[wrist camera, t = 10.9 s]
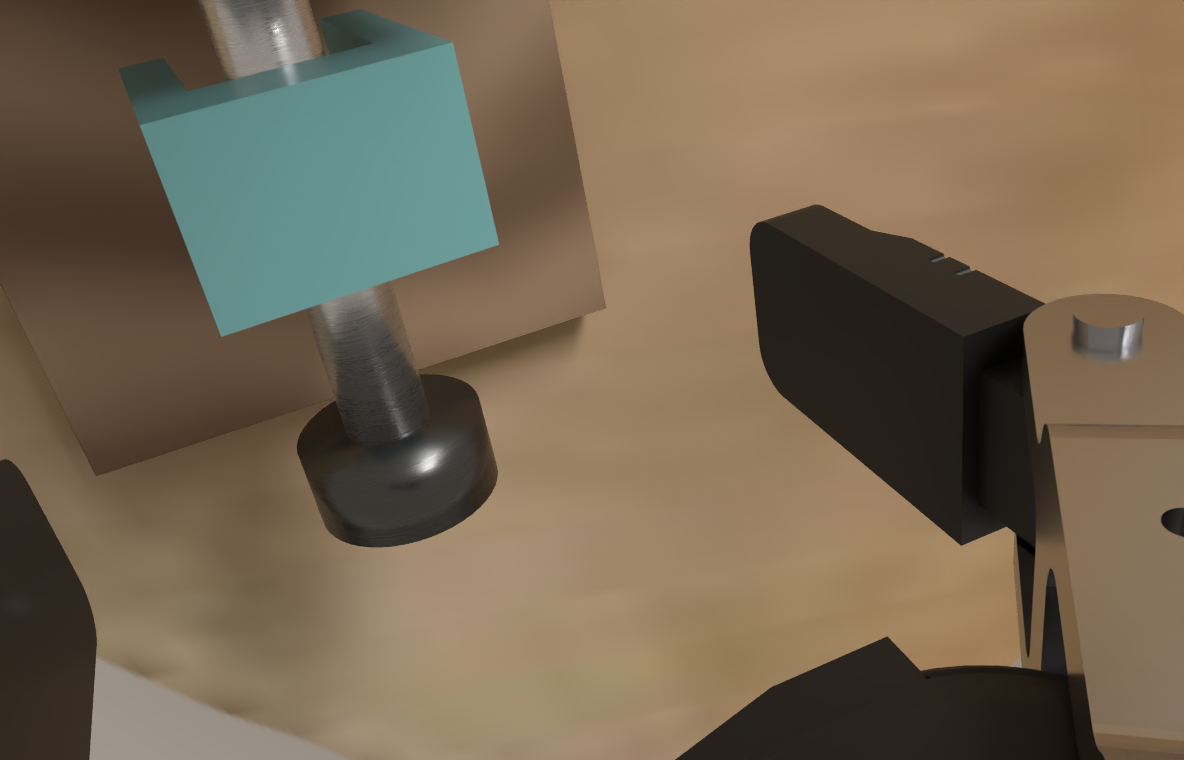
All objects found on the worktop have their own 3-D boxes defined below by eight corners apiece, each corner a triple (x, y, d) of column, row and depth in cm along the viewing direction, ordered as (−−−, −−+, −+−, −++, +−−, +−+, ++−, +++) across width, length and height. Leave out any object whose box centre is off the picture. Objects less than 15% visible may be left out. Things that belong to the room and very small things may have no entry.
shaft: (58, -201, 20) (36, -219, 16) (290, -243, 21) (320, -269, 17) (311, 476, 27) (336, 571, 23) (471, 421, 28) (520, 503, 24)
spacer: (118, 69, 23) (139, 125, 17) (359, 8, 25) (452, 42, 19) (182, 236, 25) (221, 336, 19) (403, 170, 27) (499, 244, 21)
